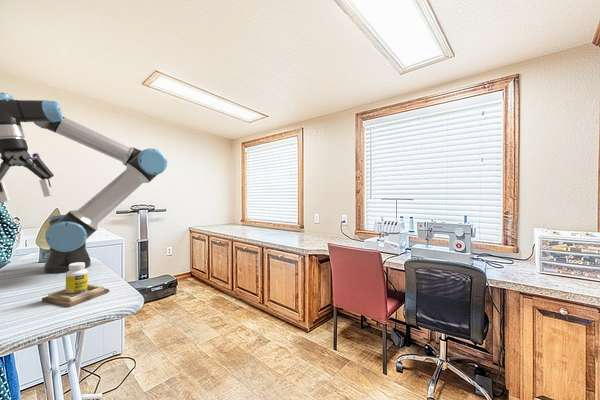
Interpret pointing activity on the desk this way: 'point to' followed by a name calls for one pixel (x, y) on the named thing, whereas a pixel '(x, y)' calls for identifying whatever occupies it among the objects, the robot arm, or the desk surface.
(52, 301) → the walnut board
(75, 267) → the supplement bottle
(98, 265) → the desk surface
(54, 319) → the desk surface
